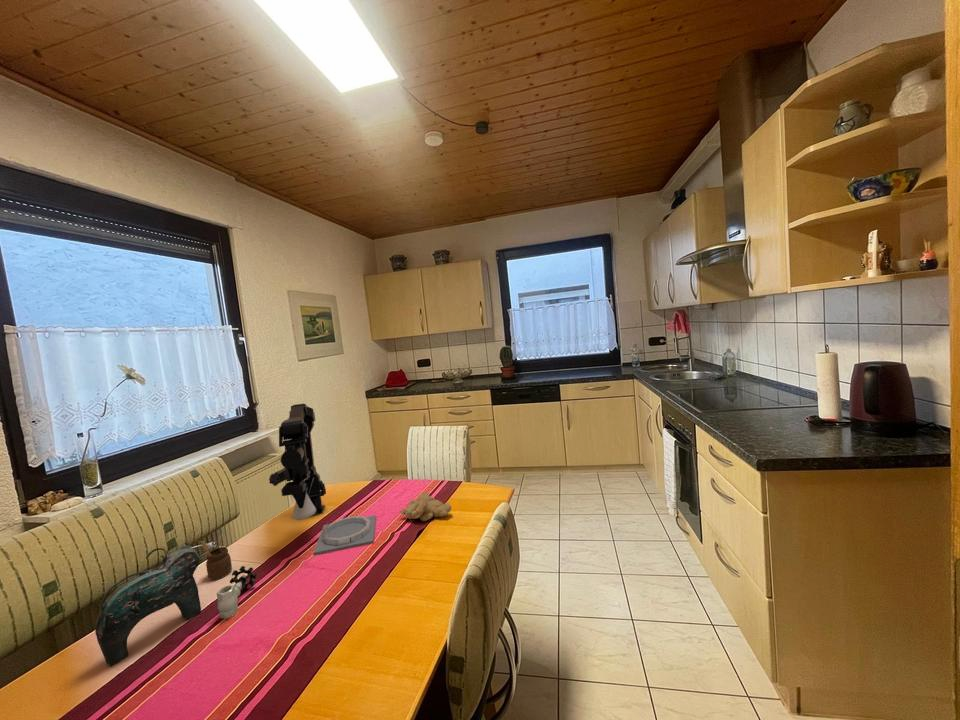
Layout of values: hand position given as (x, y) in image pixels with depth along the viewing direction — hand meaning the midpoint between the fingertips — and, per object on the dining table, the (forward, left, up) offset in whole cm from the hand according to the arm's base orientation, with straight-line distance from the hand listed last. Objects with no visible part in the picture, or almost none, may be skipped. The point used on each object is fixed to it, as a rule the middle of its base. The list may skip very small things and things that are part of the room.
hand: (303, 504), depth 127 cm
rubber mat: (+1, +13, -12) cm, 18 cm away
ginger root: (-2, +39, -13) cm, 41 cm away
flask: (0, 0, -4) cm, 4 cm away
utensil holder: (+10, -22, -13) cm, 28 cm away
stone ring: (+1, +13, -12) cm, 18 cm away
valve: (+26, -12, -13) cm, 32 cm away
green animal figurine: (+32, -26, -13) cm, 44 cm away
